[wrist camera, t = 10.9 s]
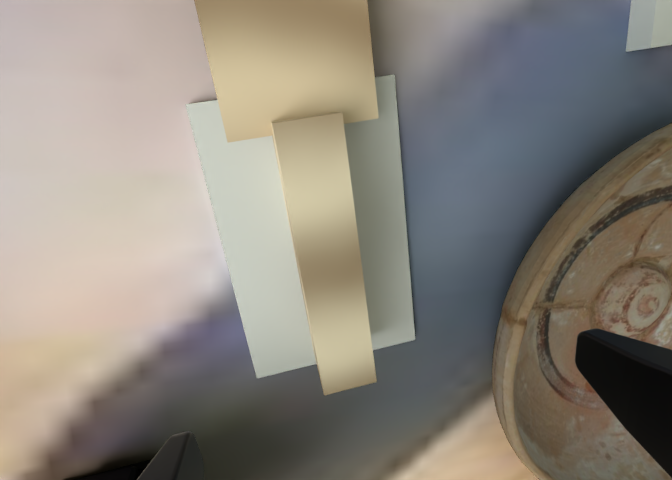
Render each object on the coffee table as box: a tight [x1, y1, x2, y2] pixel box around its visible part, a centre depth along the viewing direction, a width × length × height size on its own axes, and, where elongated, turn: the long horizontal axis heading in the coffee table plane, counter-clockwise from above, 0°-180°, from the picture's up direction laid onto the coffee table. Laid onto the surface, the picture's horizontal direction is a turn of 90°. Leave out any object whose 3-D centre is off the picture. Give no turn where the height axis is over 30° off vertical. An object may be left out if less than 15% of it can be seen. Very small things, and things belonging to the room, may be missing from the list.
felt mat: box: [186, 74, 415, 378], centre depth 19 cm, size 14×9×1 cm, turn 8°
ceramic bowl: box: [492, 123, 672, 480], centre depth 22 cm, size 23×24×5 cm
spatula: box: [194, 0, 379, 395], centre depth 16 cm, size 20×6×4 cm, turn 8°
